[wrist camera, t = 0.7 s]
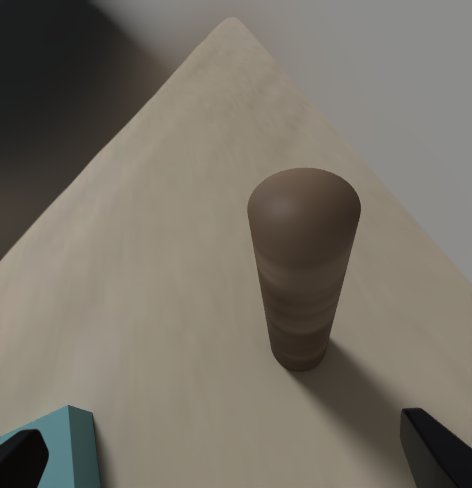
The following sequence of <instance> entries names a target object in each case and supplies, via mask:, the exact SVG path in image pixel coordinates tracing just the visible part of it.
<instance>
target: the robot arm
mask: <svg viewBox="0 0 472 488" xmlns="http://www.w3.org/2000/svg"><path fill="white" fill-rule="evenodd" d="M400 439H401V444H402V447H403V450H404V453H405V456H406V458H407V461H408V464H409V467H410V470H411V472H412V475H413V478H414V481H415V484H416V486H417V488H472V448H470V447H469V446H468V445H467V444H465V443H464V442H463V441H462V440H461V439H459V438H458V437H457V436H456V435H454V434H453V433H452V432H451V431H449V430H448V429H447V428H446V427H444V426H443V425H442V424H441V423H439V422H438V421H437V420H436V419H434V418H433V417H432V416H431V415H429V414H428V413H427V412H426V411H424V410H423V409H421V408H404V409H402V411H401V421H400ZM48 459H49V450H48V448H47V445H46V443H45V441H44V439H43V436H42V434H41V432H40V431H39V430H38V429H24V430H21V431H19V432H17V433H16V434H14V435H13V436H12V437H10V438H9V439H8V440H6V441H5V442H3V443H2V444H1V445H0V488H38V485H39V483H40V480H41V478H42V475H43V473H44V470H45V468H46V466H47V463H48Z"/></svg>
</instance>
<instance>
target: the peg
mask: <svg viewBox="0 0 472 488" xmlns="http://www.w3.org/2000/svg"><path fill="white" fill-rule="evenodd" d="M247 212H248V218H249V224H250V230H251V236H252V241H253V247H254V253H255V258H256V264H257V270H258V275H259V281H260V287H261V293H262V298H263V304H264V310H265V315H266V321H267V327H268V333H269V338H270V344H271V349H272V352H273V355H274V357H275V358H276V360H277V361H278V362H279V363H280V364H281V365H282V366H284V367H286V368H287V369H290V370H293V371H307V370H310V369H312V368H314V367H316V366H317V365H318V364H319V363H320V362H321V360H322V359H323V357H324V354H325V351H326V347H327V343H328V339H329V335H330V332H331V328H332V324H333V320H334V316H335V312H336V308H337V304H338V300H339V296H340V292H341V288H342V284H343V281H344V277H345V273H346V269H347V265H348V261H349V257H350V253H351V249H352V245H353V241H354V237H355V234H356V230H357V226H358V222H359V218H360V212H361V204H360V200H359V197H358V195H357V193H356V192H355V190H354V189H353V187H352V186H351V185H350V184H349V183H348V182H347V181H345V180H344V179H342V178H341V177H339V176H337V175H335V174H333V173H331V172H328V171H325V170H321V169H315V168H295V169H289V170H285V171H281V172H279V173H276V174H274V175H272V176H270V177H268V178H267V179H265V180H264V181H263V182H261V183H260V184H259V185H258V186H257V187H256V188H255V190H254V191H253V193H252V194H251V196H250V199H249V202H248V210H247Z"/></svg>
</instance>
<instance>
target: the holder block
mask: <svg viewBox="0 0 472 488" xmlns="http://www.w3.org/2000/svg"><path fill="white" fill-rule="evenodd" d="M24 429H38V430H39V431H40V432H41V434H42V436H43V439H44V441H45V443H46V445H47V448H48V450H49V459H48V463H47V466H46V468H45V470H44V473H43V475H42V478H41V480H40V483H39V485H38V488H101V484H100V476H99V468H98V460H97V452H96V443H95V435H94V427H93V419H92V412H89V411H86V410H82V409H79V408H76V407H73V406H70V405H67V406H65V407H63V408H61V409H58V410H56V411H54V412H52V413H50V414H48V415H46V416H44V417H41V418H39V419H37V420H35V421H33V422H31V423H29V424H27V425H24V426H22V427H20V428H18V429H16V430H14V431H12V432H10V433H7V434H5V435H3V436H1V437H0V445H1V444H2V443H3V442H5V441H6V440H8V439H9V438H10V437H12V436H13V435H14V434H16V433H17V432H19V431H21V430H24Z"/></svg>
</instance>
